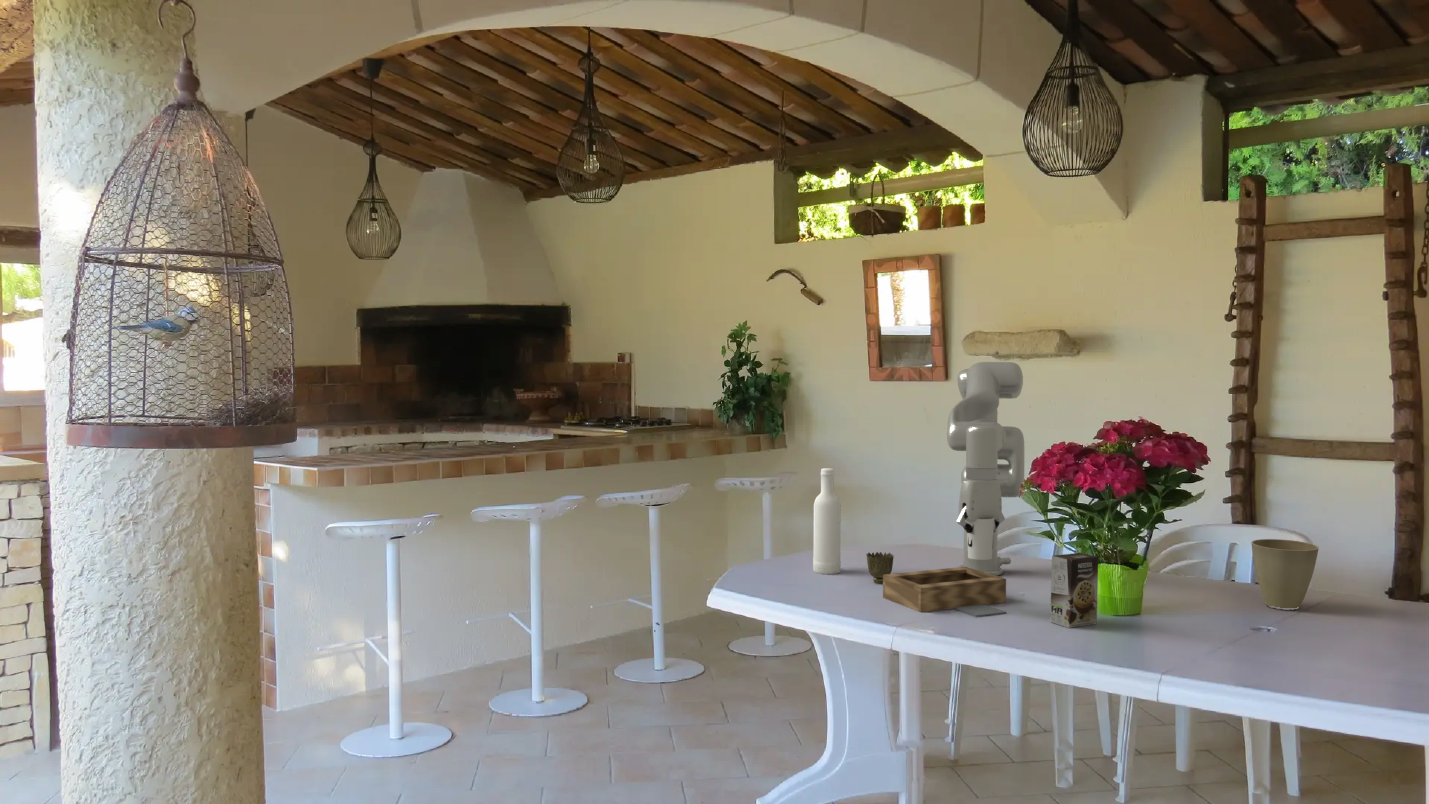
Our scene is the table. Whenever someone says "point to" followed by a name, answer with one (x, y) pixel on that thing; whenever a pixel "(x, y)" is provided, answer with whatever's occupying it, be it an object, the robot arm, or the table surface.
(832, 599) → the table surface
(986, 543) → the white tumbler
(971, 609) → the coaster
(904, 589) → the crate
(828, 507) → the bottle
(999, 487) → the robot arm
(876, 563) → the cup
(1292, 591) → the plant pot
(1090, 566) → the coffee box
